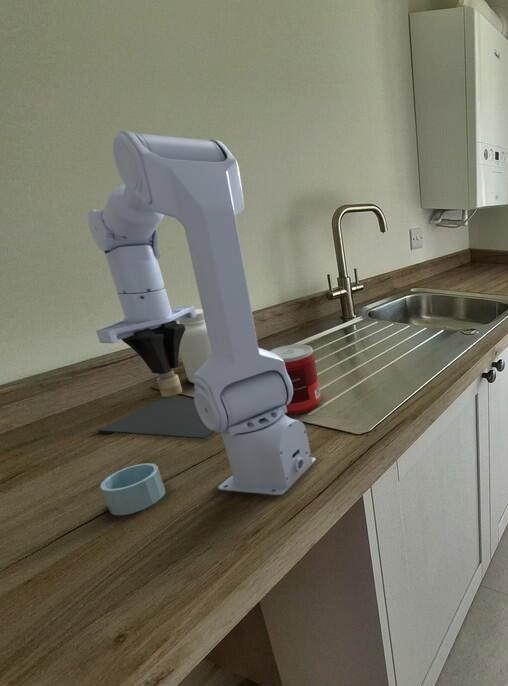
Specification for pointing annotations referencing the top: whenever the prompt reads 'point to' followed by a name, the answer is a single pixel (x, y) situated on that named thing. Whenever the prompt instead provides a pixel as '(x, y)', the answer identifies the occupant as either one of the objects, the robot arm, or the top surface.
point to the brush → (168, 380)
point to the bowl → (133, 489)
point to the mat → (163, 420)
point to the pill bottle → (194, 344)
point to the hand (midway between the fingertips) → (165, 369)
